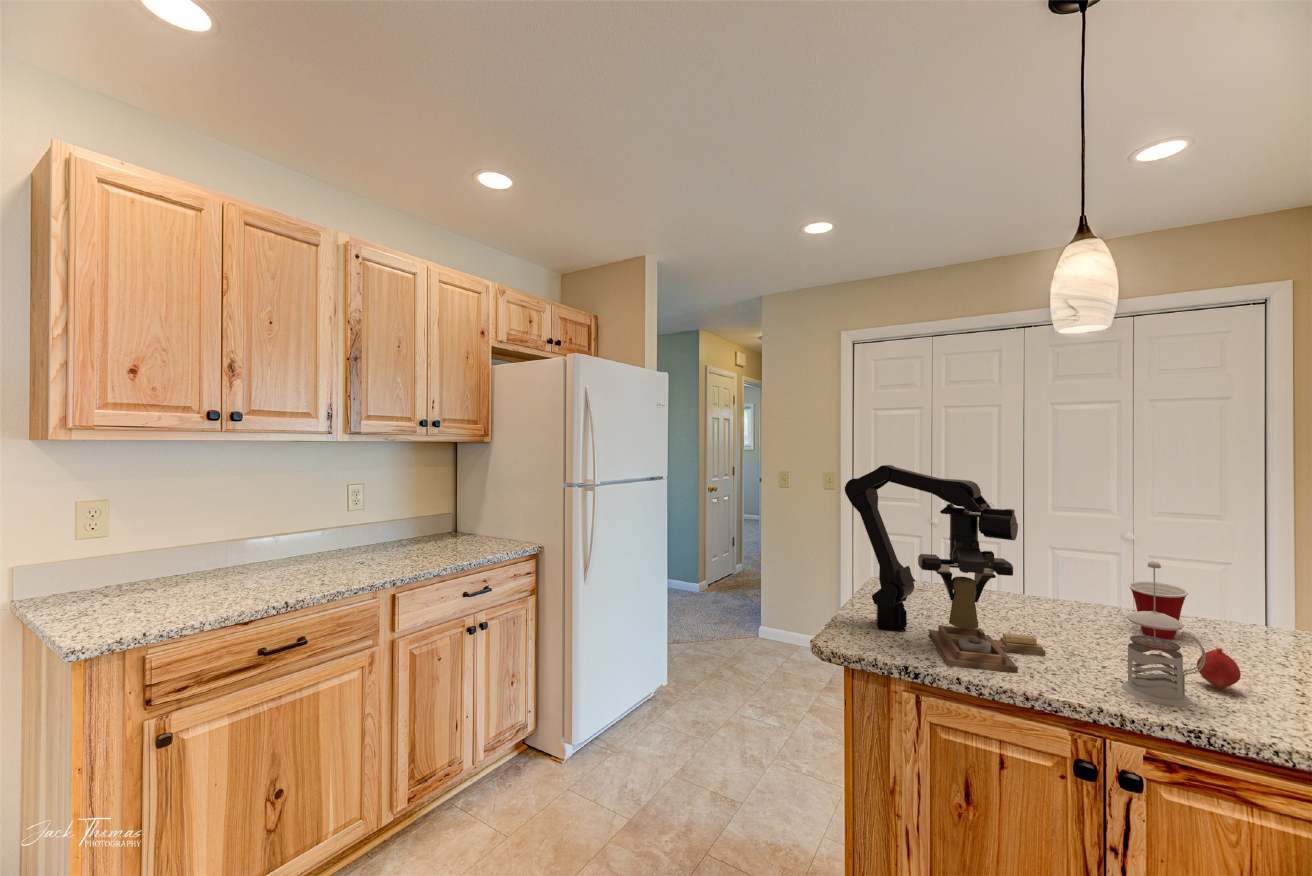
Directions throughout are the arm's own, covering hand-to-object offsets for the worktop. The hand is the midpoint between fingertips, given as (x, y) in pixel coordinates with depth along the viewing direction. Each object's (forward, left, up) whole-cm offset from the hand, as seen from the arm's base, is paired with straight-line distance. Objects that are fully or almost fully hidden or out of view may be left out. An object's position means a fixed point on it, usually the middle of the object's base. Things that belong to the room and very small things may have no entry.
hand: (963, 600), depth 126 cm
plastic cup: (+47, +20, -11) cm, 52 cm away
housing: (+5, -4, -10) cm, 12 cm away
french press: (+29, -17, -11) cm, 35 cm away
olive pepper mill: (0, 0, -6) cm, 6 cm away
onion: (+41, -11, -11) cm, 44 cm away
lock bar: (+11, 0, -9) cm, 14 cm away
